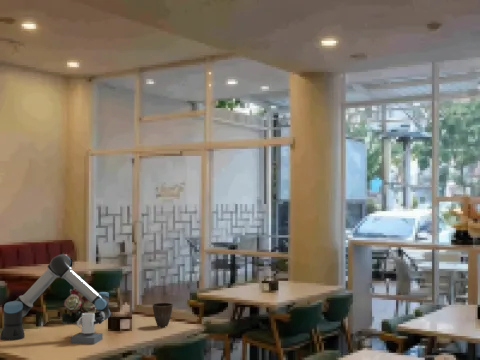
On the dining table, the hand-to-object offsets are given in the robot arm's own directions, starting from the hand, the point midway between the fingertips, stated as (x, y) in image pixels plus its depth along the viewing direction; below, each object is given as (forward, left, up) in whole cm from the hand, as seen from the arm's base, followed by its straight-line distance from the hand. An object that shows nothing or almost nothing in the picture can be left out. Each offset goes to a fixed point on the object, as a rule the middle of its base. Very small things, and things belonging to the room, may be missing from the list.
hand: (84, 323), depth 378 cm
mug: (-1, +4, -7) cm, 8 cm away
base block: (0, +5, -12) cm, 13 cm away
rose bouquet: (-33, +68, -13) cm, 77 cm away
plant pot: (+35, +62, -12) cm, 72 cm away
